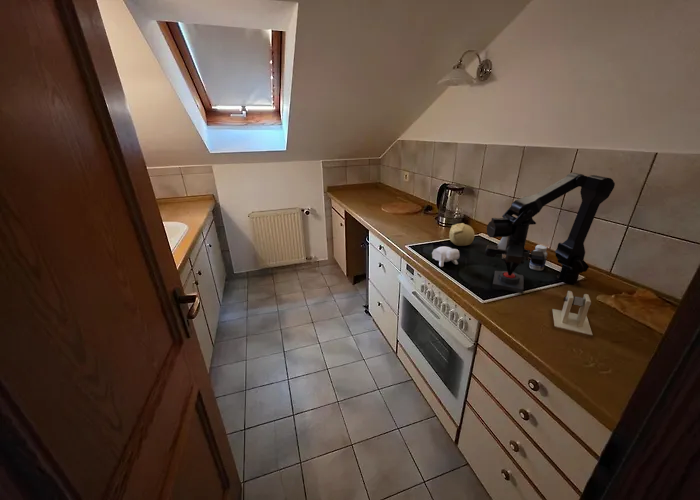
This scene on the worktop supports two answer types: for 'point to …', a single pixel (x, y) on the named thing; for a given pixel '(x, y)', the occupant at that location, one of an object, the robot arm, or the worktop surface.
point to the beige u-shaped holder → (573, 316)
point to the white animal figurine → (445, 255)
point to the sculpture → (461, 234)
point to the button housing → (508, 282)
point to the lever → (577, 301)
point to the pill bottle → (541, 267)
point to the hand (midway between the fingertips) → (509, 274)
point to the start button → (509, 275)
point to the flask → (503, 243)
